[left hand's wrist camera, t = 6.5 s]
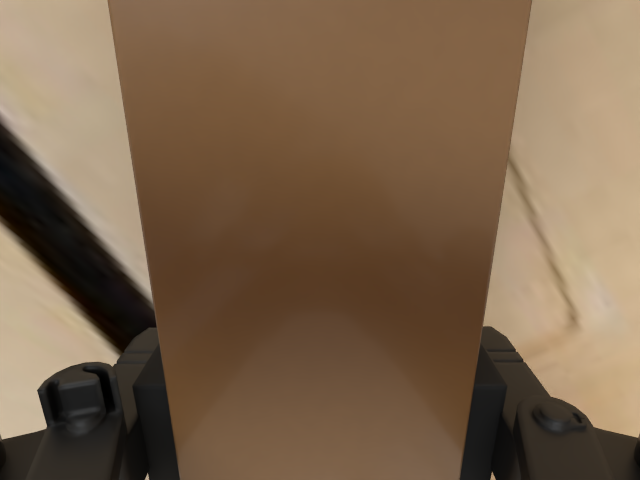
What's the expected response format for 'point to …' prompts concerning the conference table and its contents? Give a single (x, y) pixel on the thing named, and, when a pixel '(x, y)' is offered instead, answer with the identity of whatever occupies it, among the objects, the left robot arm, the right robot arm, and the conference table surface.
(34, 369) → the conference table surface
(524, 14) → the bar
